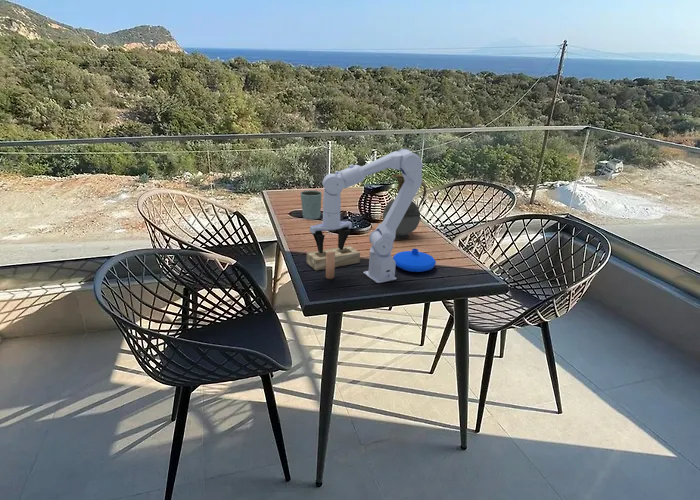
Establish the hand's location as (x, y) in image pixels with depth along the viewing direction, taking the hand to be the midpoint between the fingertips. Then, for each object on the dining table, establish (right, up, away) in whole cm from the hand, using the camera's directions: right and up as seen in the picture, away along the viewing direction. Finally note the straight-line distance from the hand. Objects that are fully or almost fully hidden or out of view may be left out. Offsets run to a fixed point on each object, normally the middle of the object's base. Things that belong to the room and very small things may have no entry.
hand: (330, 250), depth 151 cm
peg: (0, -9, +4) cm, 10 cm away
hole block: (0, -5, +16) cm, 16 cm away
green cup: (-13, +16, +69) cm, 72 cm away
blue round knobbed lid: (+30, -7, +15) cm, 34 cm away
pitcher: (+30, +6, +47) cm, 56 cm away
